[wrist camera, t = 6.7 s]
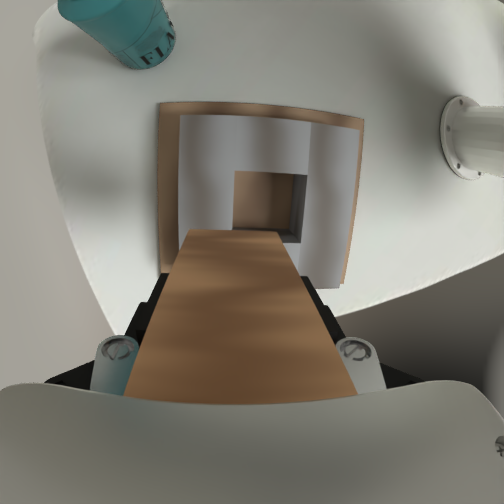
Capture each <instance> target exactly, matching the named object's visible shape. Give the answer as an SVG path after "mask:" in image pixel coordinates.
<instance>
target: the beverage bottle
mask: <svg viewBox="0 0 504 504" xmlns="http://www.w3.org/2000/svg"><path fill="white" fill-rule="evenodd" d="M58 10H59V13H60V14H61V16H62V17H64V18H65V19H67V20H69V21H71V22H72V23H74V24H75V25H77V26H78V27H79V28H81V29H82V30H83V31H85V32H86V33H87V34H89V35H90V36H91V37H93V38H94V39H95V40H97V41H98V42H99V43H101V44H102V45H103V46H104V47H105V48H106V49H107V50H108V51H110V52H111V53H112V54H113V55H115V56H116V57H117V58H118V59H119V60H121V61H122V62H123V63H124V64H125V65H127V66H129V68H130V67H131V68H135V69H137V70H140V69H145V68H146V69H147V68H151V67H153V66H156V65H158V64H159V63H161V62H162V61H164V60H165V59H166V58H167V57H168V55H169V54H170V53H171V51H172V50H173V48H174V47H173V46H174V42H176V41H175V31H173V30H174V29H172V27H171V25H172V23H171V22H169V20H168V18H169V17H167V16H168V15H166V13H165V11H164V8H163V6H162V4H161V2H160V0H58ZM172 26H173V25H172ZM110 52H109V53H110ZM113 55H112V56H113ZM118 59H117V60H118ZM124 64H123V65H124Z"/></svg>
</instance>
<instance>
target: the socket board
mask: <svg viewBox="0 0 504 504" xmlns="http://www.w3.org/2000/svg"><path fill="white" fill-rule="evenodd" d="M363 132H364V119H360V118H355V117H350V116H345V115H340V114H334V113H328V112H322V111H315V110H309V109H301V108H293V107H284V106H274V105H263V104H248V103H227V102H176V103H160V111H159V130H158V169H157V191H158V229H159V249H160V265H161V273H170V271H171V269H172V266H173V264H174V262H175V260H176V257H177V255H178V253H179V251H180V248H181V246H182V244H183V242H184V239H185V237H186V235H187V233H188V231H189V229H208V230H244V231H273V232H277V233H278V235H279V237H280V239H281V241H282V243H283V245H284V246H285V248H286V250H287V252H288V254H289V256H290V258H291V260H292V262H293V264H294V265H295V267H296V269H297V271H298V273H299V275H300V276H308V278H309V279H310V281H311V283H312V285H313V287H314V288H315V289H333V288H339V286H340V284H343V283H344V278H345V273H346V268H347V262H348V257H349V251H350V245H351V239H352V233H353V226H354V219H355V212H356V205H357V197H358V188H359V179H360V169H361V159H362V146H363Z"/></svg>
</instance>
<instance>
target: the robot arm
mask: <svg viewBox="0 0 504 504" xmlns="http://www.w3.org/2000/svg"><path fill="white" fill-rule="evenodd" d="M440 133H441V142H442V147H443V151H444V155H445V157H446V159H447V162H448V163H449V165H450V167H451V168H452V170H453V171H454V172H455V173H456V174H457V175H458V176H460V177H461V178H464V179H467V180H476V179H479V178H480V177H482V176H483V175H484V174H485V173H487V174H491V175H495V176H499V177H503V178H504V107H502V106H480V105H479V104H478V103H477V102H476V101H474V100H473V99H471V98H469V97H464V96H460V97H455V98H453V99H451V100H450V101H449V102H448V103H447V105H446V106H445V108H444V111H443V113H442V118H441V126H440ZM168 276H169V273H161V275H160V277H159V279H158V281H157V283H156V285H155V287H154V289H153V291H152V294H151V296H150V298H149V300H148V302H141V303H140V304H139V306H138V308H137V310H136V312H135V314H134V316H133V318H132V320H131V322H130V324H129V326H128V328H127V331H126V333H125V335H117V336H112V337H109V338H107V339H105V340H103V341H102V342H101V343H100V344H99V346H98V348H97V352H96V357H95V360H93V361H91V362H89V363H86V364H84V365H81V366H79V367H77V368H74V369H72V370H70V371H67V372H64V373H62V374H60V375H57V376H55V377H52V378H50V379H48V380H47V381H45V382H44V383H22V384H15V385H11V386H8V387H6V388H4V389H2V390H1V391H0V504H504V419H503V418H502V417H501V415H500V414H499V413H498V411H497V410H496V409H495V408H494V406H493V405H492V404H491V403H490V402H489V400H488V399H487V398H486V397H485V396H484V395H483V394H482V393H481V392H480V391H479V390H478V389H476V388H475V387H474V386H472V385H470V384H467V383H463V382H458V381H429V382H425V381H423V380H421V379H420V378H417V377H414V376H412V375H409V374H407V373H404V372H402V371H399V370H397V369H394V368H392V367H389V366H387V365H384V364H382V363H379V361H378V357H377V354H376V351H375V349H374V347H373V346H372V345H371V344H370V343H368V342H367V341H365V340H362V339H359V338H354V337H350V338H346V337H345V335H344V333H343V331H342V330H341V328H340V326H339V324H338V323H337V321H336V319H335V317H334V315H333V314H332V312H331V310H330V308H329V307H328V306H327V305H324V304H323V303H322V301H321V299H320V297H319V295H318V294H317V292H316V290H315V288H314V287H313V285H312V283H311V281H310V279H309V278H308V276H300V277H301V279H302V281H303V283H304V285H305V287H306V289H307V291H308V293H309V294H310V296H311V298H312V300H313V302H314V304H315V306H316V308H317V310H318V312H319V314H320V316H321V318H322V320H323V322H324V324H325V326H326V328H327V330H328V332H329V334H330V336H331V338H332V340H333V342H334V344H335V347H336V349H337V351H338V353H339V355H340V357H341V359H342V361H343V363H344V365H345V367H346V369H347V371H348V373H349V376H350V378H351V380H352V382H353V384H354V386H355V388H356V390H357V393H358V394H357V395H350V396H344V397H336V398H328V399H319V400H309V401H298V402H284V403H264V404H205V403H185V402H171V401H159V400H150V399H141V398H133V397H126V396H123V395H124V391H125V388H126V386H127V383H128V380H129V377H130V374H131V371H132V368H133V365H134V362H135V360H136V357H137V354H138V351H139V349H140V346H141V343H142V341H143V338H144V335H145V333H146V330H147V327H148V325H149V322H150V320H151V317H152V315H153V312H154V310H155V307H156V305H157V302H158V300H159V297H160V295H161V292H162V290H163V288H164V285H165V283H166V280H167V278H168Z"/></svg>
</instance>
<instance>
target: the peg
mask: <svg viewBox="0 0 504 504" xmlns="http://www.w3.org/2000/svg"><path fill="white" fill-rule="evenodd" d="M357 394H358V393H357V390H356V388H355V386H354V384H353V382H352V380H351V378H350V376H349V373H348V371H347V369H346V367H345V365H344V363H343V361H342V359H341V357H340V355H339V353H338V351H337V349H336V347H335V344H334V342H333V340H332V338H331V336H330V334H329V332H328V330H327V328H326V326H325V324H324V322H323V320H322V318H321V316H320V314H319V312H318V310H317V308H316V306H315V304H314V302H313V300H312V298H311V296H310V294H309V293H308V291H307V289H306V287H305V285H304V283H303V281H302V279H301V277H300V275H299V273H298V271H297V269H296V267H295V265H294V264H293V262H292V260H291V258H290V256H289V254H288V252H287V250H286V248H285V246H284V245H283V243H282V241H281V239H280V237H279V235H278V233H277V232H273V231H244V230H208V229H189V231H188V233H187V235H186V237H185V239H184V242H183V244H182V246H181V248H180V251H179V253H178V255H177V257H176V260H175V262H174V264H173V266H172V269H171V271H170V273H169V276H168V278H167V280H166V283H165V285H164V288H163V290H162V292H161V295H160V297H159V300H158V302H157V305H156V307H155V310H154V312H153V315H152V317H151V320H150V322H149V325H148V327H147V330H146V333H145V335H144V338H143V341H142V343H141V346H140V349H139V351H138V354H137V357H136V360H135V362H134V365H133V368H132V371H131V374H130V377H129V380H128V383H127V386H126V388H125V391H124V395H123V396H126V397H133V398H141V399H150V400H159V401H171V402H185V403H205V404H264V403H284V402H298V401H309V400H319V399H328V398H336V397H344V396H350V395H357Z"/></svg>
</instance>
